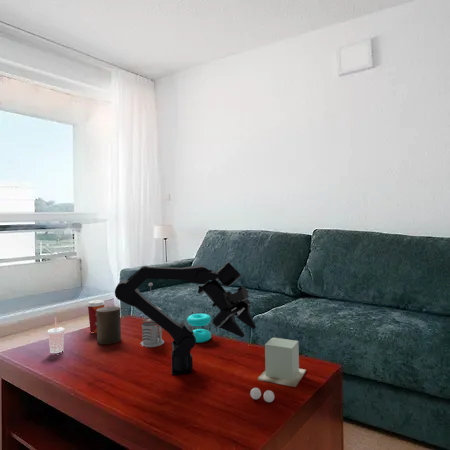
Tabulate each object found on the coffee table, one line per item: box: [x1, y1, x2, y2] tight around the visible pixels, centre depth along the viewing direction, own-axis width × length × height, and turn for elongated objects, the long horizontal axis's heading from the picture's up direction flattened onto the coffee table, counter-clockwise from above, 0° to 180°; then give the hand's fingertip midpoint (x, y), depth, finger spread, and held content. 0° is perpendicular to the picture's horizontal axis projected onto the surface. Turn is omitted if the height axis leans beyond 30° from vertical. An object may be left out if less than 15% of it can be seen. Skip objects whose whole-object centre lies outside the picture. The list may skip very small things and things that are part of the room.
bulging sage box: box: [264, 337, 300, 381], centre depth 114 cm, size 9×7×10 cm
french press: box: [139, 282, 165, 348], centre depth 147 cm, size 10×12×25 cm
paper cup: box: [86, 299, 106, 333], centre depth 164 cm, size 8×8×14 cm
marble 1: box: [249, 387, 262, 400], centre depth 100 cm, size 3×3×3 cm
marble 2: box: [263, 389, 275, 403], centre depth 98 cm, size 3×3×3 cm
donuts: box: [186, 313, 212, 344], centre depth 151 cm, size 10×10×10 cm
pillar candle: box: [96, 305, 122, 345], centre depth 152 cm, size 10×10×15 cm
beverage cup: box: [47, 316, 66, 353], centre depth 139 cm, size 6×6×14 cm
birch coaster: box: [257, 368, 307, 388], centre depth 114 cm, size 12×12×1 cm
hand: (249, 332), depth 116 cm, fingers open, 9 cm apart
